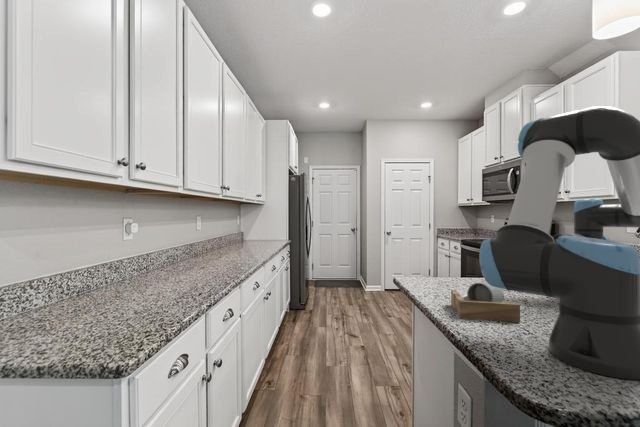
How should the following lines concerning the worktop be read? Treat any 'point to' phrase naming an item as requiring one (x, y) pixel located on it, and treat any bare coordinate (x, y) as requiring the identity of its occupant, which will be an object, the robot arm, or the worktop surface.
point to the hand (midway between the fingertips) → (519, 245)
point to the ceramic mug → (484, 293)
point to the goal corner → (485, 309)
